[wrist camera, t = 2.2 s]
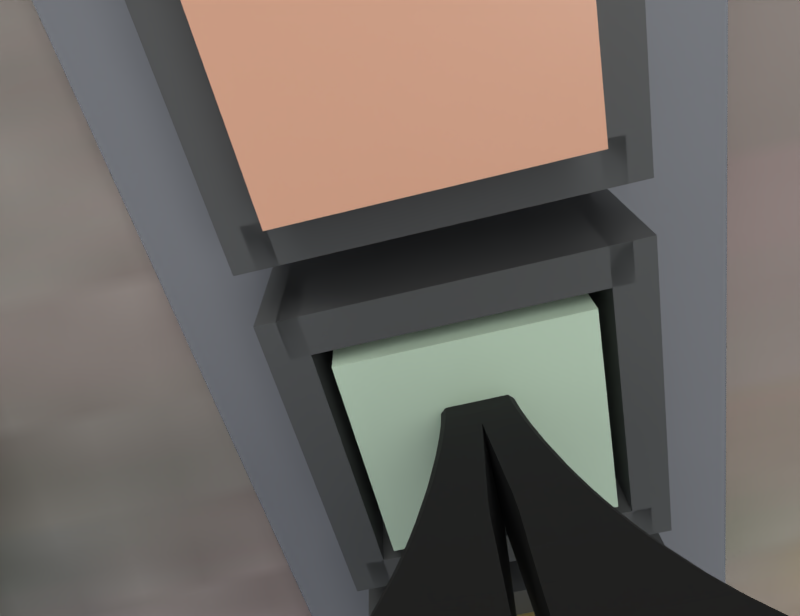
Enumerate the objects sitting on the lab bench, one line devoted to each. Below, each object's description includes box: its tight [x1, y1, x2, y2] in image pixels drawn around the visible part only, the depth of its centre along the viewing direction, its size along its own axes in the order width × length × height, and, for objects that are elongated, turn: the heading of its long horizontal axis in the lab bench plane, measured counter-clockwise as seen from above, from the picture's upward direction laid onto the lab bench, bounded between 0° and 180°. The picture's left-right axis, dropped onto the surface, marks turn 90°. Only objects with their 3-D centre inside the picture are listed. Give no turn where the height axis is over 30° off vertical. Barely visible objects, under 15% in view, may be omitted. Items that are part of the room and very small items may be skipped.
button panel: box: [32, 0, 728, 616], centre depth 15 cm, size 24×12×5 cm, turn 13°
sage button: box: [332, 294, 618, 551], centre depth 14 cm, size 5×5×2 cm
